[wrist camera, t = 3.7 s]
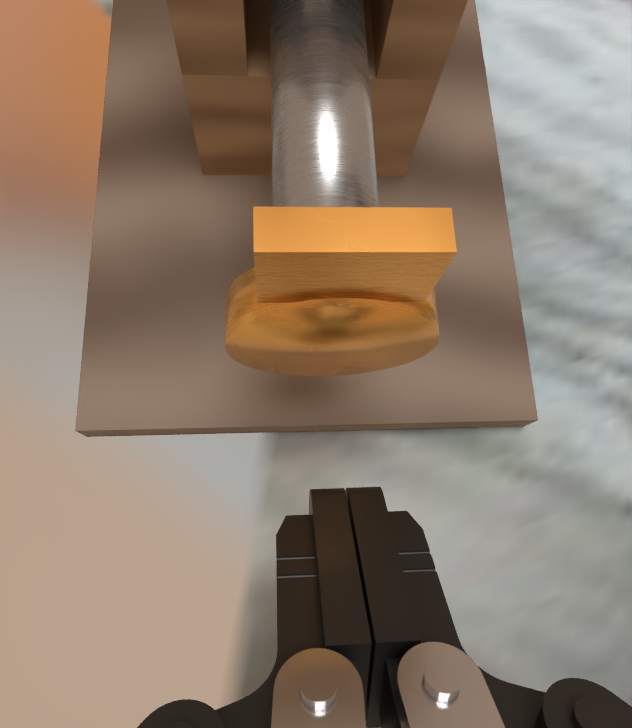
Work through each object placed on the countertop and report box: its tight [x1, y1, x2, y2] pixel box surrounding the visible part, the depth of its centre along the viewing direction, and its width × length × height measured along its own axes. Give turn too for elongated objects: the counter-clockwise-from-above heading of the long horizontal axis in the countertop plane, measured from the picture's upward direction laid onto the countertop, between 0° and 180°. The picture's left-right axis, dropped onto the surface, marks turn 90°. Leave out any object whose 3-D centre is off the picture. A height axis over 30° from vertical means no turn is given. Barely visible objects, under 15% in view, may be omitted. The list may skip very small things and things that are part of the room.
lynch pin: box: [225, 0, 457, 376], centre depth 14 cm, size 12×5×7 cm, turn 2°
